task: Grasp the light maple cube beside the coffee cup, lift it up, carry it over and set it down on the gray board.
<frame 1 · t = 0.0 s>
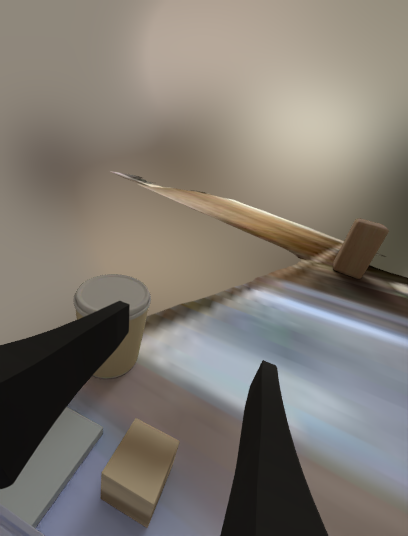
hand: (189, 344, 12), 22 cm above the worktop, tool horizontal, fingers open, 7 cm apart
coffee cup: (111, 357, 36), on the worktop
maple cube: (138, 481, 24), on the worktop
wooden block: (345, 271, 93), on the worktop
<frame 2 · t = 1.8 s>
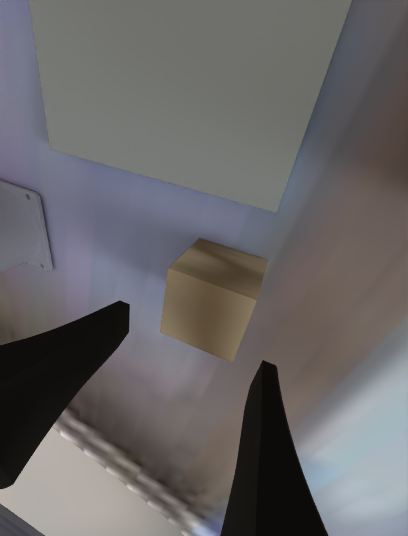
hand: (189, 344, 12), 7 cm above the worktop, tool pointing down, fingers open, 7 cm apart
maple cube: (224, 277, 18), on the worktop
gray board: (169, 59, 13), on the worktop
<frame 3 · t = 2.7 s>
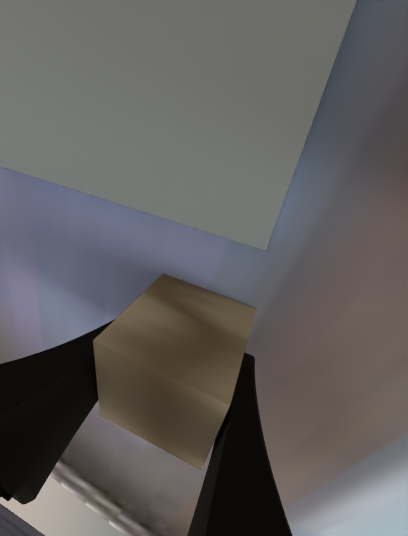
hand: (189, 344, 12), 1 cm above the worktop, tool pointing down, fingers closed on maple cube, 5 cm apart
maple cube: (199, 325, 13), on the worktop, touching gripper
gray board: (97, 11, 8), on the worktop
when the fingers open (4 cm above the worktop, at t = 7.1 s): maple cube drops 1 cm, resting on gray board.
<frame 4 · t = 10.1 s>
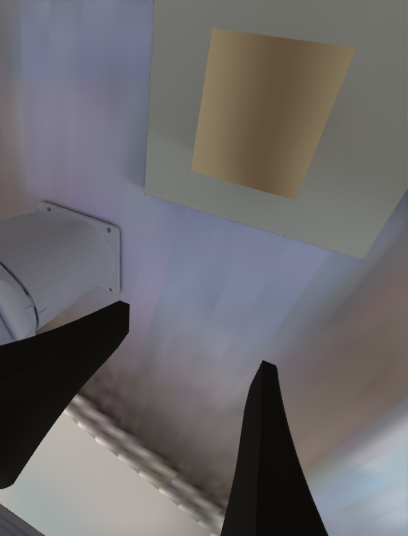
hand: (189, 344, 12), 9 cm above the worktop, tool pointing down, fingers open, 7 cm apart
maple cube: (270, 128, 14), point 1 cm above the worktop, touching gray board
gray board: (272, 127, 14), on the worktop
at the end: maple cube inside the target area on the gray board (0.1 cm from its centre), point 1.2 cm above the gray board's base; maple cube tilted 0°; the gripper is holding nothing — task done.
